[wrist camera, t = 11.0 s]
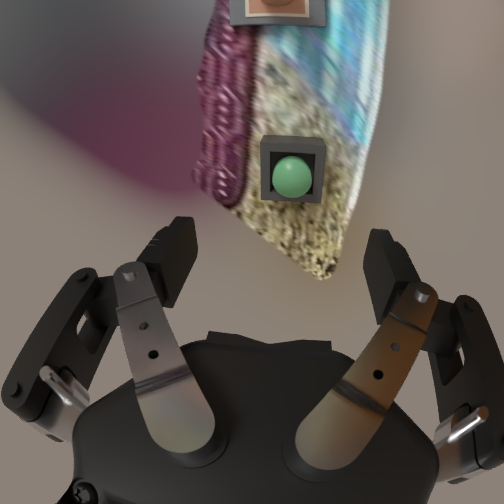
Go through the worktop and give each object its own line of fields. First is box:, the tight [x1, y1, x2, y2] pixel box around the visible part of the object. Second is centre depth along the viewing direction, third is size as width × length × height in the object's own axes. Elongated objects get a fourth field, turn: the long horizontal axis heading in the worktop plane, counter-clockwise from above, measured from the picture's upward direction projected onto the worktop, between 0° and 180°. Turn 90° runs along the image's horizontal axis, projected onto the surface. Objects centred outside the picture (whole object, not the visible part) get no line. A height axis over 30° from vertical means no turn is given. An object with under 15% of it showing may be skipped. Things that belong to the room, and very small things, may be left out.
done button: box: [272, 156, 312, 198], centre depth 28 cm, size 4×4×2 cm
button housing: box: [260, 135, 326, 203], centre depth 30 cm, size 7×7×4 cm
